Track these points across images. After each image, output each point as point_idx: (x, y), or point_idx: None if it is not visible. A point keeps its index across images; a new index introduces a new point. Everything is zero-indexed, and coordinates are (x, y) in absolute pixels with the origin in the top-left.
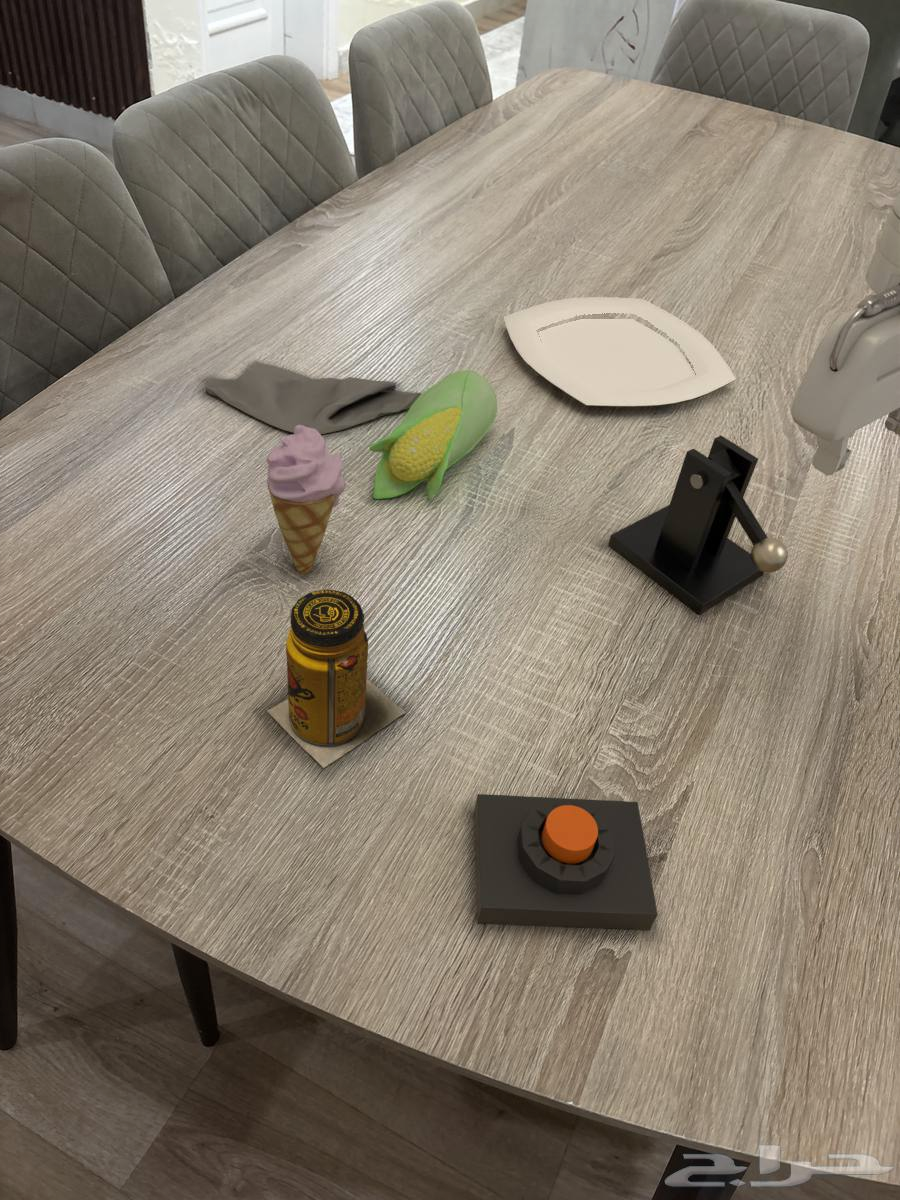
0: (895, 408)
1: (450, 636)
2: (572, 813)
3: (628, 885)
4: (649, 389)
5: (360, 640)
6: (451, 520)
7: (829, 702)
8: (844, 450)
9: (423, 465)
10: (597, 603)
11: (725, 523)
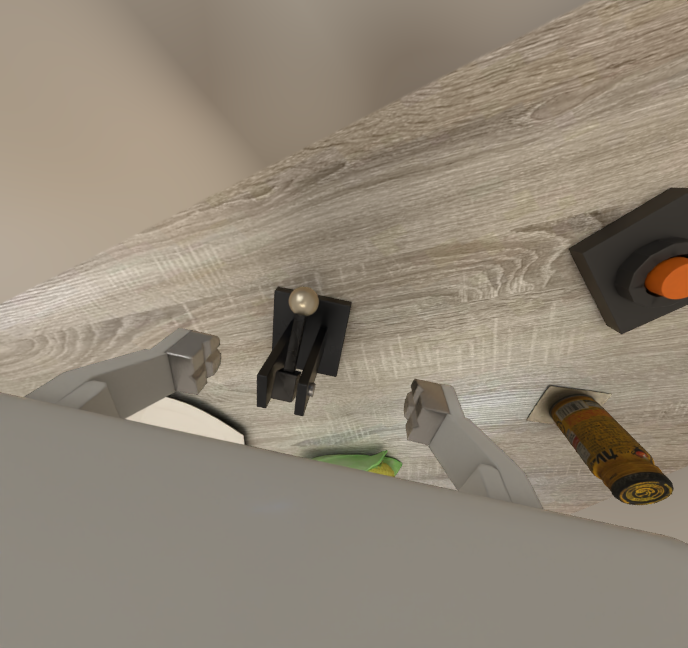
0: (379, 486)
1: (474, 395)
2: (670, 287)
3: (672, 220)
4: (189, 416)
5: (635, 463)
6: (386, 434)
7: (363, 183)
8: (470, 430)
9: (384, 472)
10: (390, 352)
11: (289, 339)
